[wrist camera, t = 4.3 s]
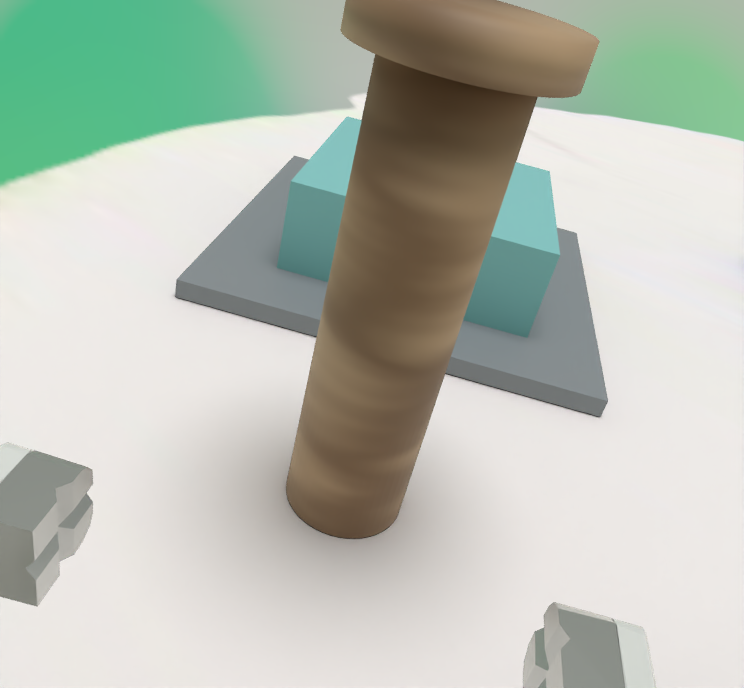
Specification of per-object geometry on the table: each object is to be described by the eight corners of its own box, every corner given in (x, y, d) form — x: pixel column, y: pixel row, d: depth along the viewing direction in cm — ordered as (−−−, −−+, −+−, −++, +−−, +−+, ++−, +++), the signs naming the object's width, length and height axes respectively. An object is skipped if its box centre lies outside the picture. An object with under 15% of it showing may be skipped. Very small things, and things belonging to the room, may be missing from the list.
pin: (433, 462, 30) (587, 24, 20) (414, 583, 24) (613, 61, 15) (286, 419, 30) (374, -32, 21) (234, 530, 24) (323, -16, 15)
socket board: (571, 245, 54) (602, 169, 50) (600, 417, 35) (651, 314, 32) (292, 168, 54) (305, 89, 51) (175, 296, 36) (183, 185, 33)
